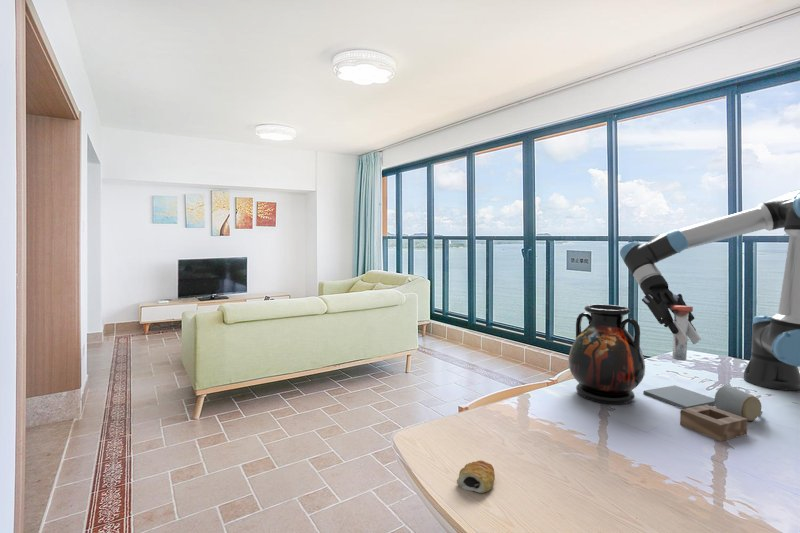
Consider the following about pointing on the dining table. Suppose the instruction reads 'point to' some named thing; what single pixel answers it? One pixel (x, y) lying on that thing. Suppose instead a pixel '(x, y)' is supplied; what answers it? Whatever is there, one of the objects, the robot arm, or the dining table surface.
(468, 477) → the pastry
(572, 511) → the dining table surface
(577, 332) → the amphora vase
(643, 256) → the robot arm
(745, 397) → the ceramic mug
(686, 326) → the red-capped mushroom
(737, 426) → the eye block
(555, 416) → the dining table surface
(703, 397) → the mat
